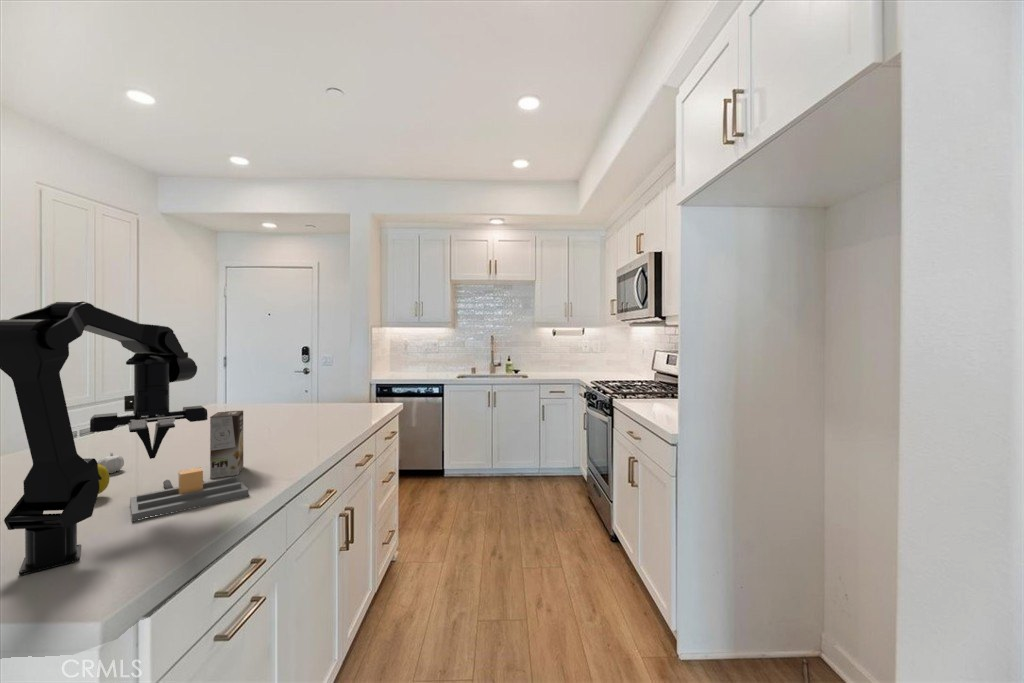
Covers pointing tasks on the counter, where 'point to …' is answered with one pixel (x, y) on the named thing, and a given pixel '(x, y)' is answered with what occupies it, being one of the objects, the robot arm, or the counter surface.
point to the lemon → (103, 478)
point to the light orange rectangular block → (190, 480)
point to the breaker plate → (186, 498)
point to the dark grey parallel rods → (168, 484)
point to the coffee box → (226, 443)
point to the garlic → (112, 462)
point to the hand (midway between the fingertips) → (152, 458)
